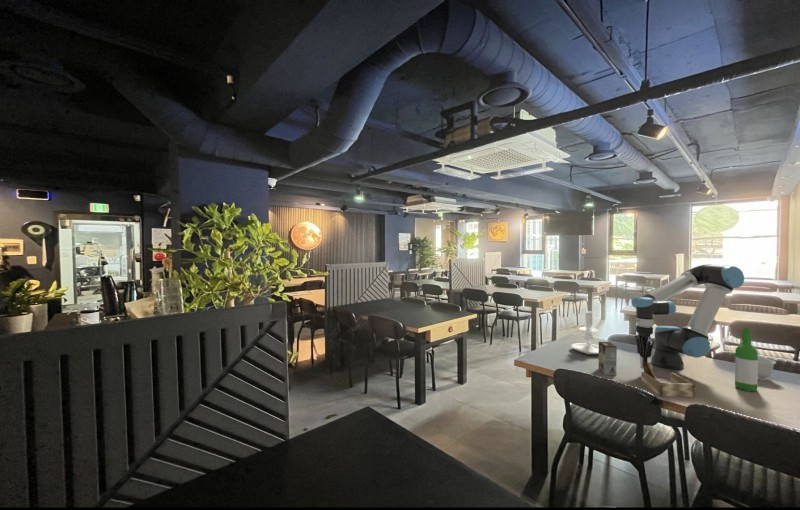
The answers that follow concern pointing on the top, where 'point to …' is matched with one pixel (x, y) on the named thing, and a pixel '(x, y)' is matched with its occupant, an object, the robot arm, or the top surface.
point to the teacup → (765, 367)
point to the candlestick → (587, 338)
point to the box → (669, 386)
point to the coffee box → (607, 358)
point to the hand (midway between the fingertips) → (643, 368)
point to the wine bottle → (746, 364)
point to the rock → (648, 369)
